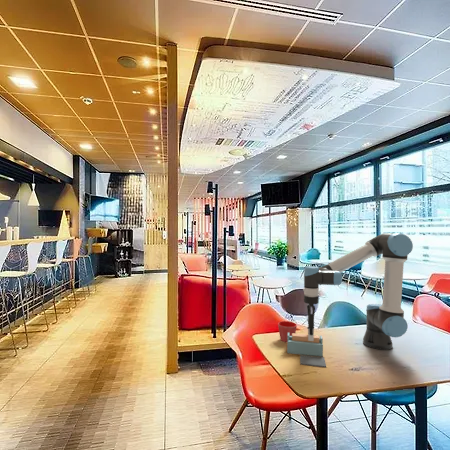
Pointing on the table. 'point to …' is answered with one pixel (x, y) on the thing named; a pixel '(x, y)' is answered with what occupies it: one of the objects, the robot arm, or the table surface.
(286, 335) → the flower pot
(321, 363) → the mat
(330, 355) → the table surface
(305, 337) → the bar
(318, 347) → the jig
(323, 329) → the table surface
